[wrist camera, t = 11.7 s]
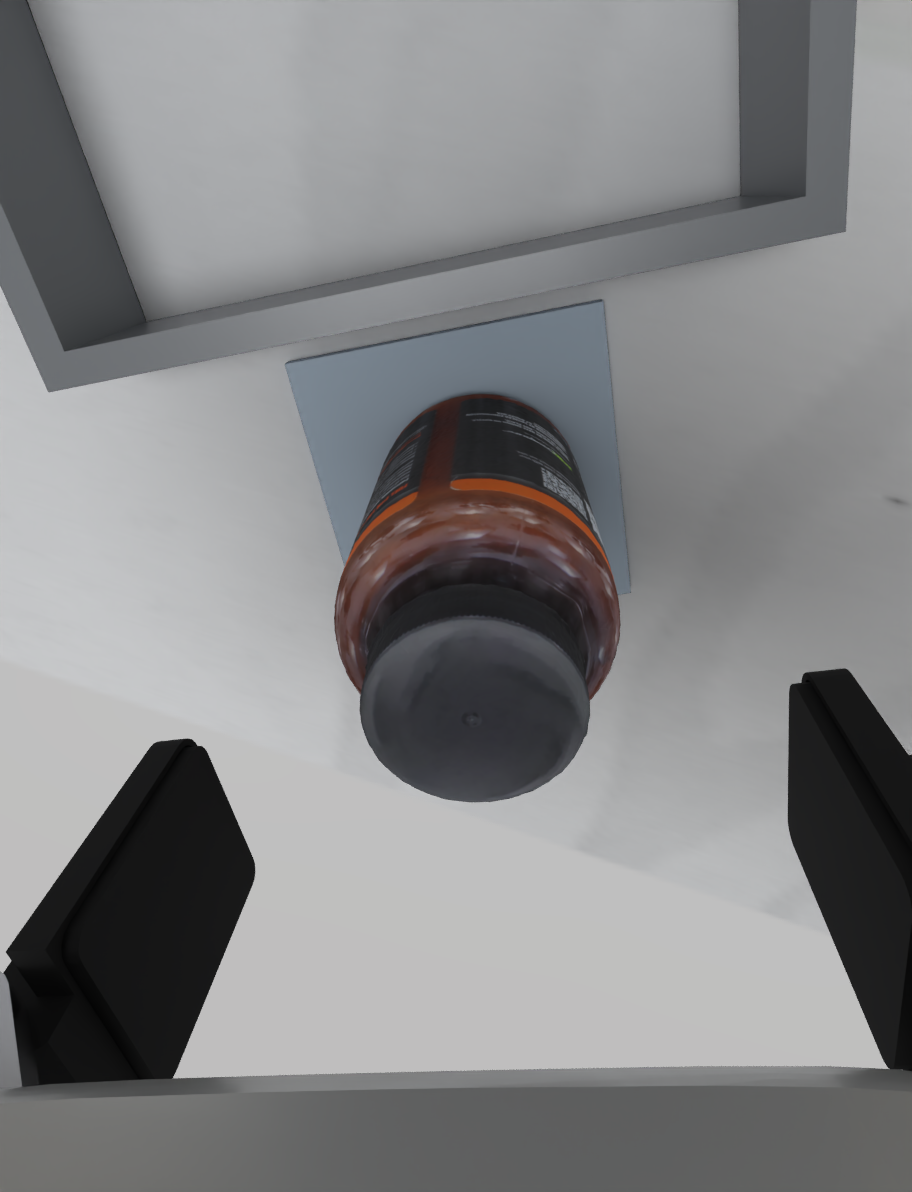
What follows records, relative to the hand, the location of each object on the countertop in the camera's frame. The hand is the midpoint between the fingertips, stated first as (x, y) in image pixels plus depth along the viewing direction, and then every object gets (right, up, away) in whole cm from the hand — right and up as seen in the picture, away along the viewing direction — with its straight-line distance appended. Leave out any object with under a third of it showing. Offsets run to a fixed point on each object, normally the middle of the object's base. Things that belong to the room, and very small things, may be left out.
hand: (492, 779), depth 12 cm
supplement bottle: (0, +6, +11) cm, 13 cm away
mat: (0, +7, +11) cm, 13 cm away
